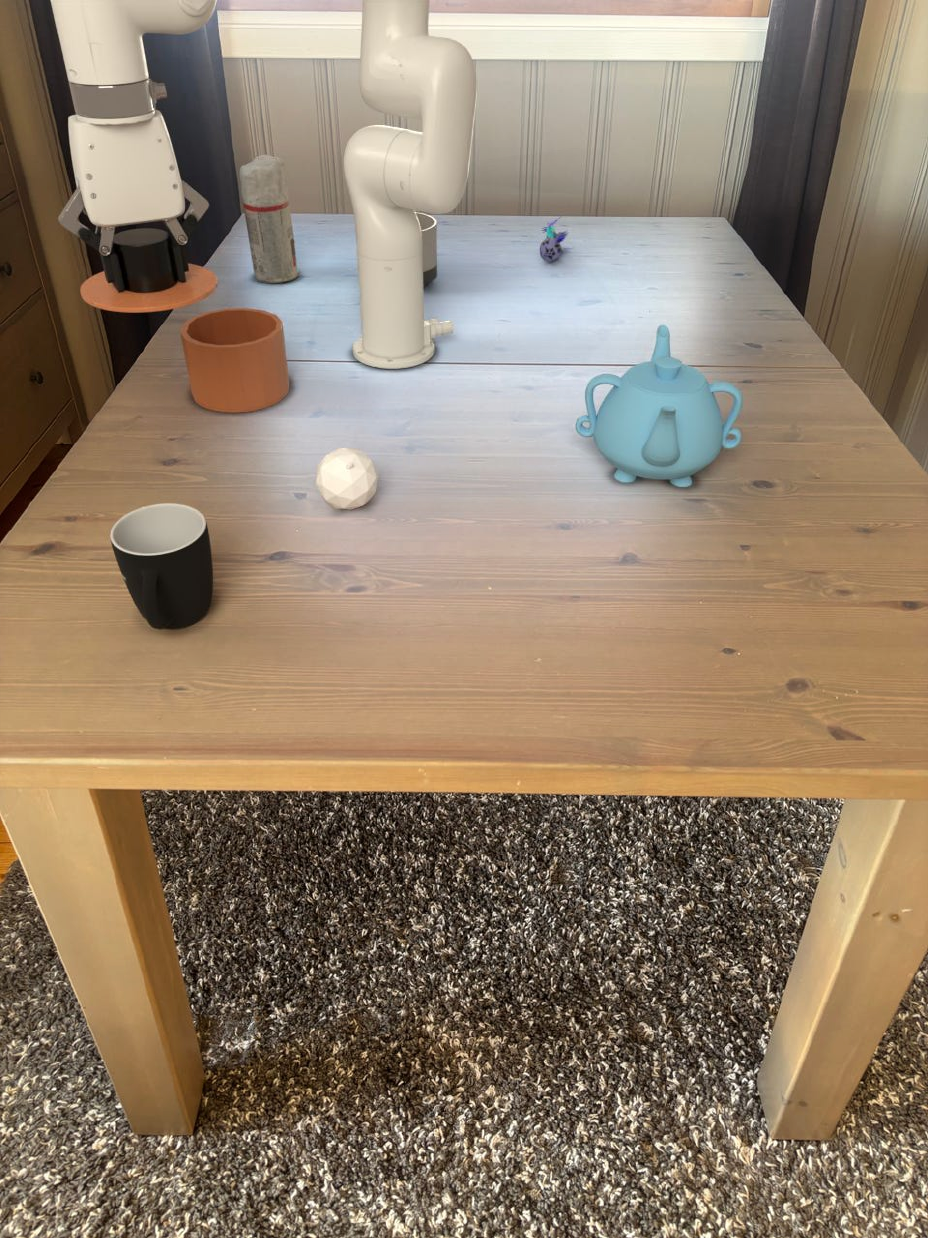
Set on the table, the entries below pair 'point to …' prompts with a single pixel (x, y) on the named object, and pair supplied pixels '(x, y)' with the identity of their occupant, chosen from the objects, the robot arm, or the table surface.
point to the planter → (428, 247)
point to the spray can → (268, 219)
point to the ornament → (346, 478)
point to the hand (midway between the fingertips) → (149, 281)
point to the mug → (166, 563)
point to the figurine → (552, 243)
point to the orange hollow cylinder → (236, 359)
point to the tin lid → (147, 276)
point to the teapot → (660, 418)
